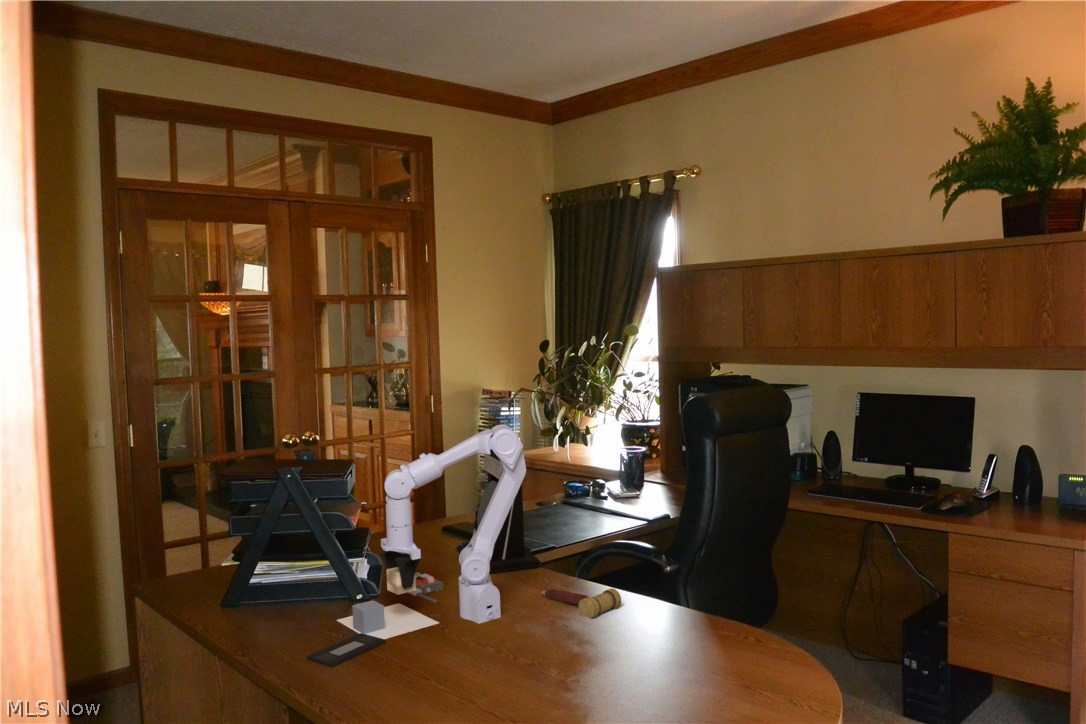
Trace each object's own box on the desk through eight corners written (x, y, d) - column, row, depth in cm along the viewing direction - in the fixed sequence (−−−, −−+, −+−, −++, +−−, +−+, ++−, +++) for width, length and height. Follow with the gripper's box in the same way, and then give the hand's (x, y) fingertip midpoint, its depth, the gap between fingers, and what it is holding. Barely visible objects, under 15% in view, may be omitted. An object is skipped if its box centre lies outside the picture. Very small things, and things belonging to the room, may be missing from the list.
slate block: (384, 628, 181) (383, 605, 181) (363, 634, 178) (362, 611, 177) (374, 622, 185) (373, 600, 185) (353, 628, 182) (352, 605, 181)
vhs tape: (306, 666, 165) (306, 656, 165) (361, 642, 177) (360, 633, 177) (332, 674, 161) (331, 663, 161) (386, 649, 172) (385, 639, 172)
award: (454, 548, 250) (451, 448, 248) (514, 541, 255) (511, 444, 254) (477, 576, 220) (473, 463, 219) (544, 568, 226) (541, 458, 225)
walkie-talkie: (389, 590, 212) (432, 608, 197) (388, 573, 212) (431, 590, 196) (418, 582, 217) (463, 600, 202) (418, 565, 217) (462, 582, 202)
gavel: (526, 588, 199) (555, 578, 206) (528, 607, 199) (556, 596, 206) (592, 600, 184) (621, 589, 192) (594, 621, 184) (622, 609, 192)
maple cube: (415, 590, 185) (415, 569, 185) (397, 594, 182) (396, 573, 182) (405, 585, 188) (404, 565, 188) (387, 589, 186) (386, 569, 185)
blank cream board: (439, 627, 183) (439, 622, 183) (374, 646, 173) (373, 642, 173) (399, 607, 197) (399, 603, 197) (336, 624, 187) (336, 620, 187)
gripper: (367, 522, 188) (370, 581, 188) (399, 533, 176) (401, 596, 177) (395, 516, 192) (397, 575, 193) (428, 527, 181) (430, 589, 181)
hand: (401, 585), depth 185 cm, fingers closed on maple cube, 5 cm apart
